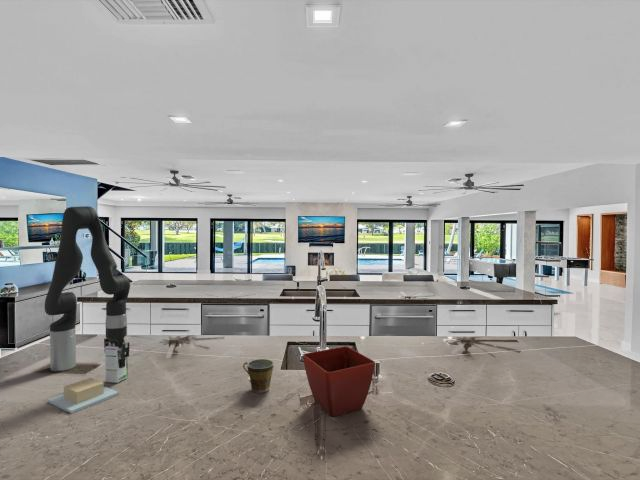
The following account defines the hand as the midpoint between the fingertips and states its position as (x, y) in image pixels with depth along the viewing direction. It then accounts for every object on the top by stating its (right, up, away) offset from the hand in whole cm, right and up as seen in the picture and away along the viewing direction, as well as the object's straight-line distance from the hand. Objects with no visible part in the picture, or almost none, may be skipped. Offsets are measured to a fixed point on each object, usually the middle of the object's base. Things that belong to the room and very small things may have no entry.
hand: (116, 365), depth 146 cm
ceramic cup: (+58, -7, -7) cm, 59 cm away
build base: (-3, -6, -15) cm, 17 cm away
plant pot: (+89, -7, -20) cm, 91 cm away
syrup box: (0, -6, 0) cm, 6 cm away
